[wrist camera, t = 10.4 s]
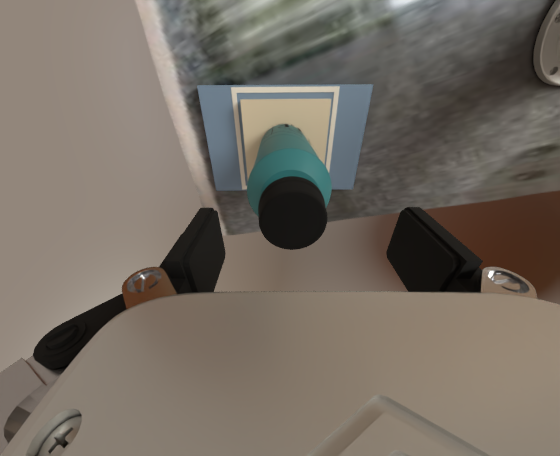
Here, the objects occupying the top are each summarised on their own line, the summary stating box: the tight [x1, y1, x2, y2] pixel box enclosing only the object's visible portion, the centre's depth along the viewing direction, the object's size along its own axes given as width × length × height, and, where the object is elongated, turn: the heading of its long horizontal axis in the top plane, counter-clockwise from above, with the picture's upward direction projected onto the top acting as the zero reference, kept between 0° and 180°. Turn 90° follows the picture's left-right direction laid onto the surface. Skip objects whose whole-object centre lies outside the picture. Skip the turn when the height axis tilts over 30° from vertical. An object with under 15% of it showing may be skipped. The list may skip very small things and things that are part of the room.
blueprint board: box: [197, 84, 373, 191], centre depth 30 cm, size 22×14×4 cm, turn 90°
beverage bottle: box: [247, 123, 332, 250], centre depth 20 cm, size 6×7×20 cm
